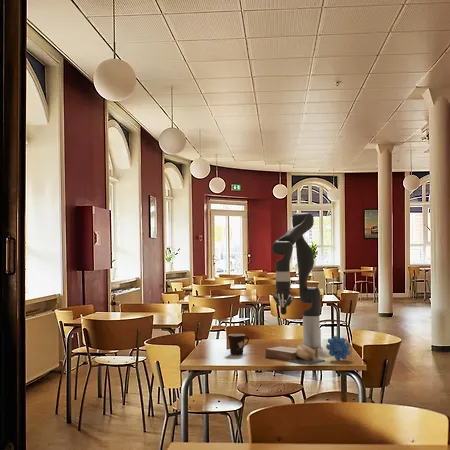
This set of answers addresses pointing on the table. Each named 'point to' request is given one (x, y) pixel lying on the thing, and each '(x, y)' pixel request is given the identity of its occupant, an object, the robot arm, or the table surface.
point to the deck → (282, 353)
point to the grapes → (338, 347)
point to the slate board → (307, 361)
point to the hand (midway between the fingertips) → (283, 314)
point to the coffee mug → (237, 343)
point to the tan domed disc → (305, 352)
